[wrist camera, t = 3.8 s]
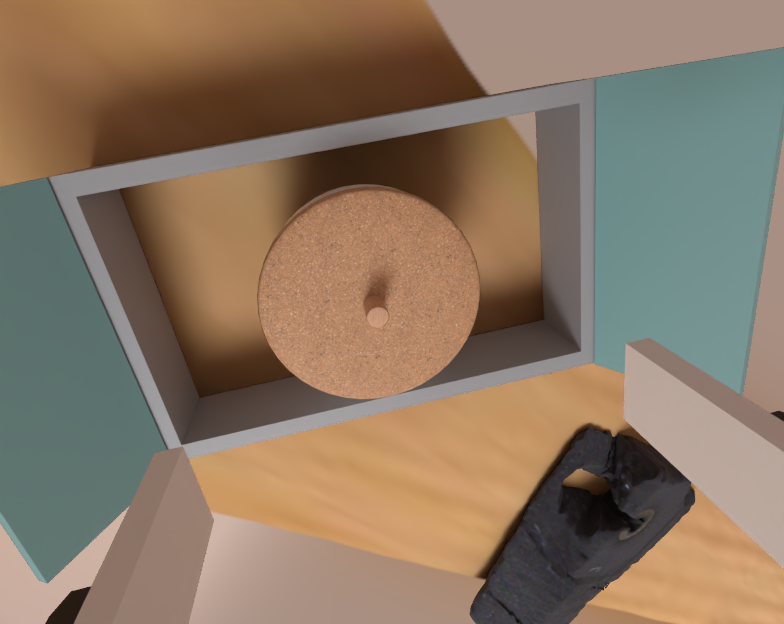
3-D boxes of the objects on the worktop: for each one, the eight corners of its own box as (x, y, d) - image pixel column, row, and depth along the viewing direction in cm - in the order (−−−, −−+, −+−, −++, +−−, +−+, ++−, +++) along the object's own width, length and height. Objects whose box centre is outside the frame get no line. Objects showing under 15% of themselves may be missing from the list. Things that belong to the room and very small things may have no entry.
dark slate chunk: (435, 594, 43) (449, 648, 39) (588, 407, 38) (625, 445, 33) (556, 632, 48) (581, 684, 44) (706, 472, 43) (751, 512, 39)
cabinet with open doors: (127, 427, 31) (35, 586, 21) (11, 181, 25) (-208, 228, 14) (610, 317, 34) (746, 406, 24) (615, 72, 28) (804, 44, 17)
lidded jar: (266, 334, 31) (251, 418, 22) (271, 160, 27) (255, 180, 18) (428, 341, 33) (471, 420, 24) (453, 180, 29) (515, 207, 20)
